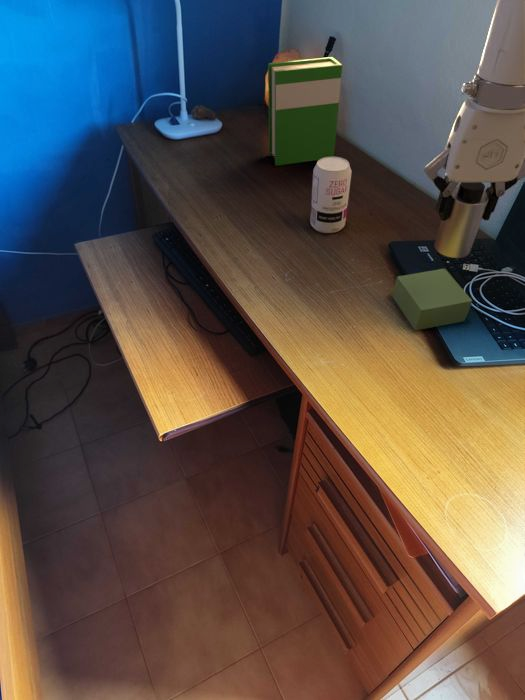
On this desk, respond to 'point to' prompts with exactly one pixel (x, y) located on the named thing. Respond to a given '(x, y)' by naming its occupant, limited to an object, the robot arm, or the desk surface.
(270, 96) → the hardback book
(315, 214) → the supplement can
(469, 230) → the flask
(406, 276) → the block
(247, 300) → the desk surface
